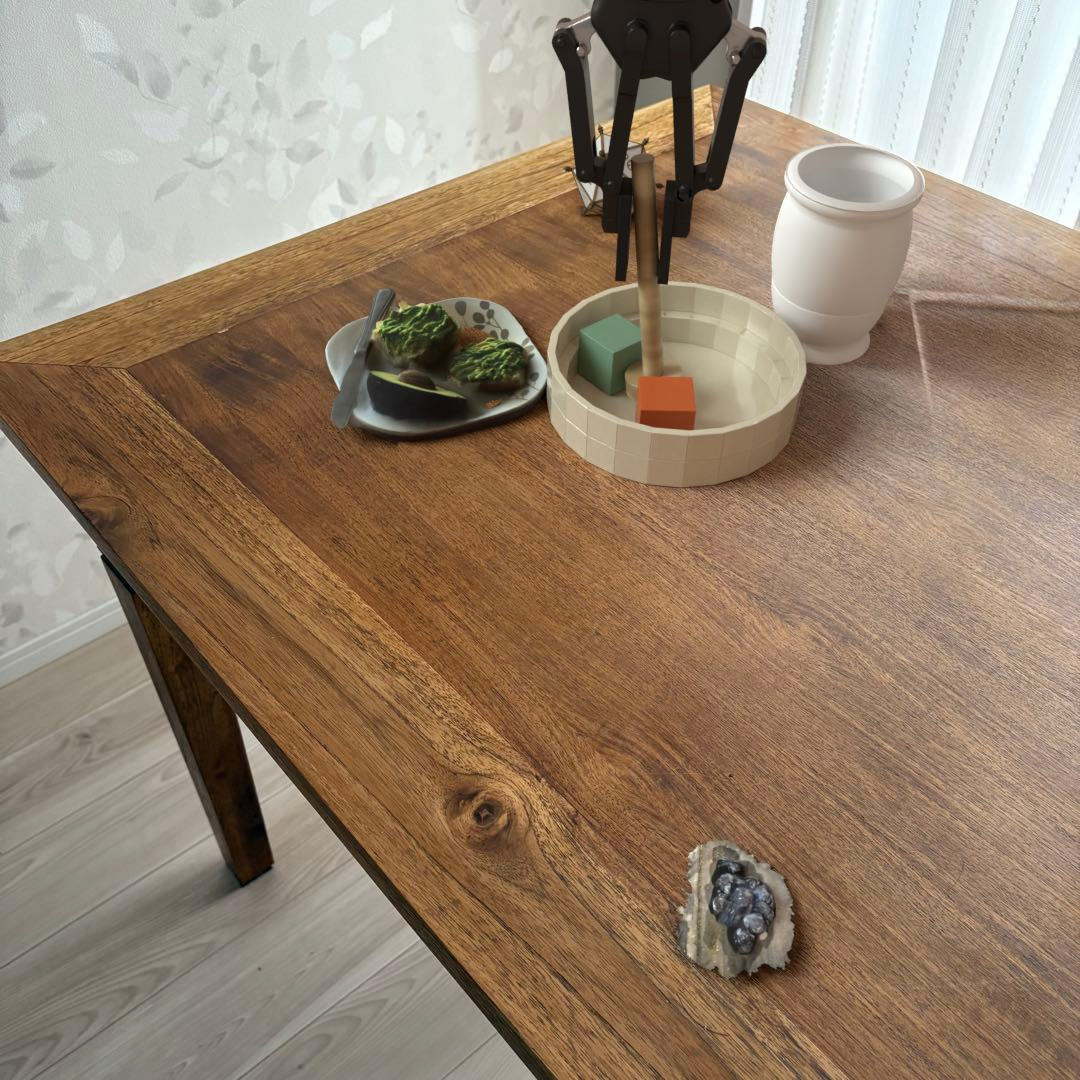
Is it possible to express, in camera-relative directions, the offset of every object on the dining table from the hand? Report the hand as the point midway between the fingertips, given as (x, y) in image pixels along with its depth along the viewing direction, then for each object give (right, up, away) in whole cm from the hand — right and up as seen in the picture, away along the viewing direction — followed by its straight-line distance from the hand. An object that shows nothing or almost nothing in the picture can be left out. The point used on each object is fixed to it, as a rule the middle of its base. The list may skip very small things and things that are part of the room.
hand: (642, 271), depth 79 cm
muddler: (+1, -7, +7) cm, 10 cm away
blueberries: (+3, -39, -21) cm, 44 cm away
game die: (0, +12, +28) cm, 31 cm away
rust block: (+2, -11, +4) cm, 12 cm away
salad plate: (-16, -7, +10) cm, 20 cm away
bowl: (+3, -9, +8) cm, 12 cm away
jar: (+16, -2, +14) cm, 22 cm away
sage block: (-2, -6, +10) cm, 11 cm away
